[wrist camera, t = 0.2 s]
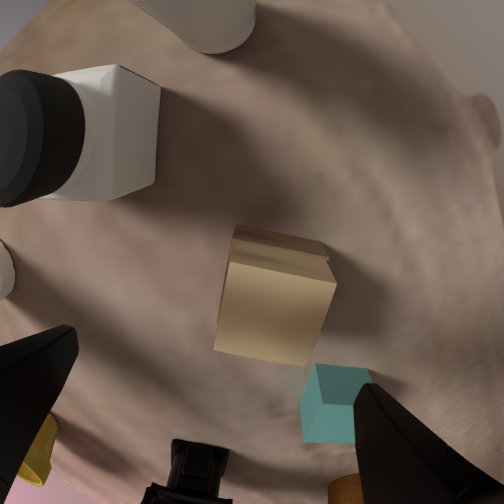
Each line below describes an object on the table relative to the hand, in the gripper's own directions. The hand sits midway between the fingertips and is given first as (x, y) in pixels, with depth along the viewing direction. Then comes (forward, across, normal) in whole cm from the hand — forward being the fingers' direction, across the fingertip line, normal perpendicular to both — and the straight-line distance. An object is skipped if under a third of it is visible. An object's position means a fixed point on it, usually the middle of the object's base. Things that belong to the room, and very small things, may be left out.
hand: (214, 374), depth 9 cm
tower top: (+11, -2, +2) cm, 11 cm away
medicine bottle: (+14, +11, -6) cm, 19 cm away
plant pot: (+15, +24, +30) cm, 41 cm away
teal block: (+14, -10, +12) cm, 22 cm away
